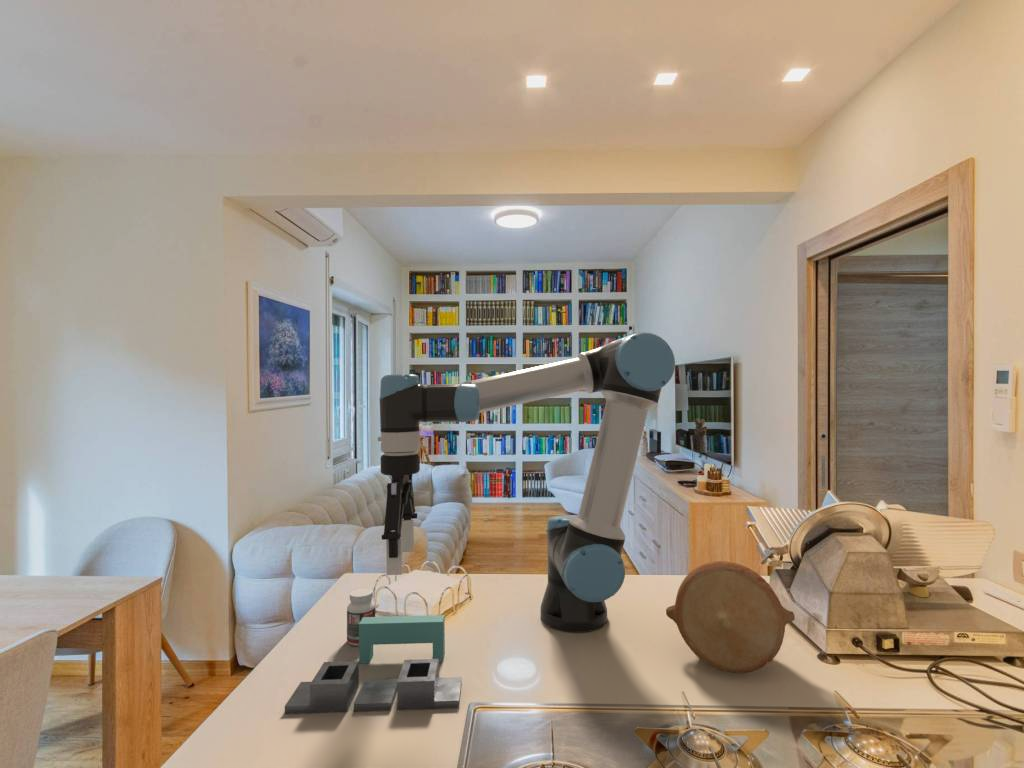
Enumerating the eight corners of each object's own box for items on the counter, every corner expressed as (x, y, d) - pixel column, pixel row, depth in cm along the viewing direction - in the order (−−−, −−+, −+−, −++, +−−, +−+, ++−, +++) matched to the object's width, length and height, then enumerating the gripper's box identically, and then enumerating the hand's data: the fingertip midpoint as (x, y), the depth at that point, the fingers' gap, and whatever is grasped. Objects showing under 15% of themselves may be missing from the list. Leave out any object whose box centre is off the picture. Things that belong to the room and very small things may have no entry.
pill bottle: (367, 648, 104) (367, 598, 104) (341, 645, 105) (341, 596, 105) (380, 635, 109) (379, 588, 110) (355, 632, 111) (355, 586, 111)
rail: (461, 683, 90) (461, 658, 91) (459, 708, 84) (458, 680, 84) (300, 688, 89) (300, 662, 90) (284, 713, 82) (284, 685, 83)
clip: (444, 653, 101) (444, 615, 101) (443, 661, 98) (443, 621, 98) (363, 655, 101) (362, 617, 101) (359, 663, 98) (358, 623, 98)
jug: (648, 607, 94) (658, 573, 122) (717, 709, 88) (711, 648, 116) (741, 548, 90) (729, 526, 118) (820, 649, 84) (787, 601, 112)
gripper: (393, 447, 113) (394, 544, 112) (364, 461, 88) (366, 586, 87) (427, 446, 113) (428, 543, 113) (408, 460, 88) (410, 585, 88)
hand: (401, 562), depth 100 cm, fingers open, 13 cm apart
